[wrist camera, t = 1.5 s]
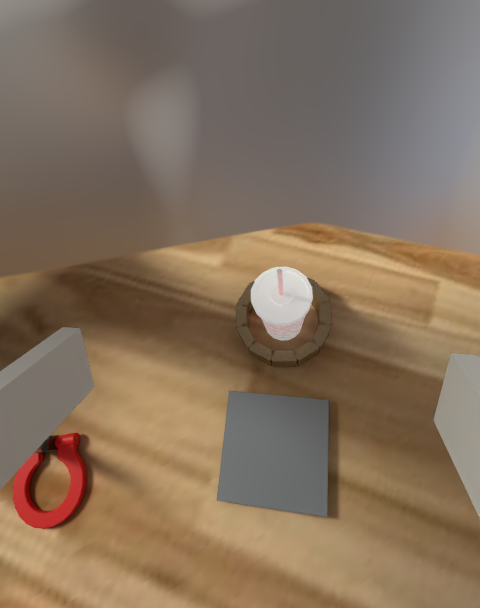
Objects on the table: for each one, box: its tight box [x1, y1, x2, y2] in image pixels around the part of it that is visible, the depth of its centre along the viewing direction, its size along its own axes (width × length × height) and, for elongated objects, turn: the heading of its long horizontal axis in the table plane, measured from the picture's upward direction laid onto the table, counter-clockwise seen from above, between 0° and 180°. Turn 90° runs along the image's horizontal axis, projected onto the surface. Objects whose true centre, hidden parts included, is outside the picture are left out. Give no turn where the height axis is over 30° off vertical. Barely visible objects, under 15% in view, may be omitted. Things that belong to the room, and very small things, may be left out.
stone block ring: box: [236, 278, 332, 367], centre depth 40 cm, size 11×11×3 cm
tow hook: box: [13, 433, 87, 529], centre depth 33 cm, size 8×13×9 cm
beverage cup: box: [251, 267, 313, 340], centre depth 35 cm, size 6×6×14 cm
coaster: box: [217, 391, 329, 517], centre depth 36 cm, size 11×11×1 cm
